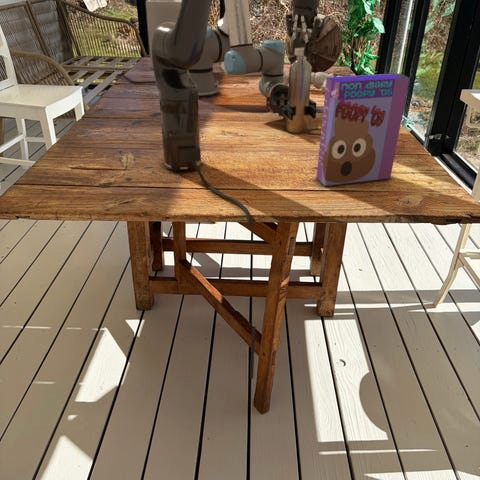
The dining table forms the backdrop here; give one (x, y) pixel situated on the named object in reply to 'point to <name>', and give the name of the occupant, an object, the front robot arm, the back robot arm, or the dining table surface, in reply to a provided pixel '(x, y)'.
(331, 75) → the toy
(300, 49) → the cap
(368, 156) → the cereal box
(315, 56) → the sphere
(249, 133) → the dining table surface
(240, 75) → the disc drive
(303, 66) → the bottle
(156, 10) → the tall grey upright box
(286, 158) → the dining table surface
